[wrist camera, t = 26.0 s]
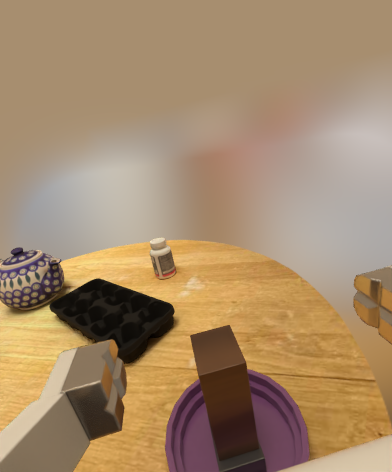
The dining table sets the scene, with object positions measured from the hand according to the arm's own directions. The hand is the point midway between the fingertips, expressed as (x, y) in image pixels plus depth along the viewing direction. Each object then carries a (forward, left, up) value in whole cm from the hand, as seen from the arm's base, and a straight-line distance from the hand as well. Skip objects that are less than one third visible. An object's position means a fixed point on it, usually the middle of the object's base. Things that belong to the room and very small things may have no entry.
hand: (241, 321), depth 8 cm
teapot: (+69, -14, -25) cm, 74 cm away
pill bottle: (+42, -35, -25) cm, 60 cm away
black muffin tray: (+41, -16, -25) cm, 50 cm away
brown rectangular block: (+8, -8, -25) cm, 27 cm away
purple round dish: (+8, -8, -25) cm, 27 cm away
